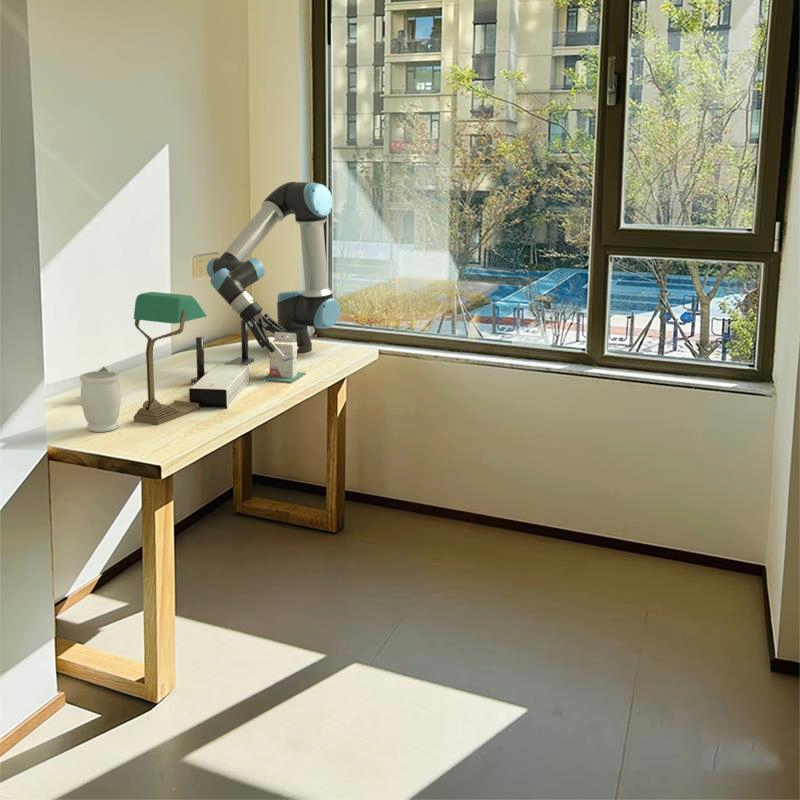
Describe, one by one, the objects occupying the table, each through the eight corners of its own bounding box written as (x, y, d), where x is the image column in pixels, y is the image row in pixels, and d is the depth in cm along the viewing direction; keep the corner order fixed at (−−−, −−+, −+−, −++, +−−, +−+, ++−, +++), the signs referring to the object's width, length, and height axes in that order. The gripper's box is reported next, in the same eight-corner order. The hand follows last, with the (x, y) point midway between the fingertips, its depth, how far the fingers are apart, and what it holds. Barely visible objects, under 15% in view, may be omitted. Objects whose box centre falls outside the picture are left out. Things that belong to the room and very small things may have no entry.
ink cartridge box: (268, 376, 316) (268, 334, 312) (273, 373, 321) (273, 331, 317) (292, 378, 314) (292, 335, 310) (297, 375, 319) (297, 333, 315)
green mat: (276, 371, 325) (276, 370, 325) (305, 374, 323) (305, 372, 323) (260, 380, 312) (260, 378, 312) (291, 383, 310) (291, 381, 310)
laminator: (226, 409, 277) (226, 389, 275) (186, 408, 277) (185, 388, 275) (249, 383, 310) (248, 365, 308) (212, 382, 310) (212, 364, 308)
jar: (89, 422, 259) (86, 370, 255) (126, 423, 259) (124, 371, 255) (77, 433, 248) (73, 379, 245) (116, 434, 249) (113, 380, 245)
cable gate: (238, 360, 341) (238, 319, 338) (254, 362, 340) (253, 320, 336) (191, 383, 305) (189, 337, 302) (207, 385, 304) (206, 338, 300)
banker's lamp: (123, 419, 263) (116, 296, 254) (168, 403, 281) (164, 288, 272) (169, 426, 257) (164, 301, 248) (212, 409, 275) (209, 292, 266)
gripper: (254, 309, 328) (294, 354, 328) (224, 320, 304) (267, 369, 305) (268, 295, 325) (308, 340, 326) (239, 305, 302) (282, 354, 302)
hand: (288, 354), depth 315 cm, fingers open, 13 cm apart
